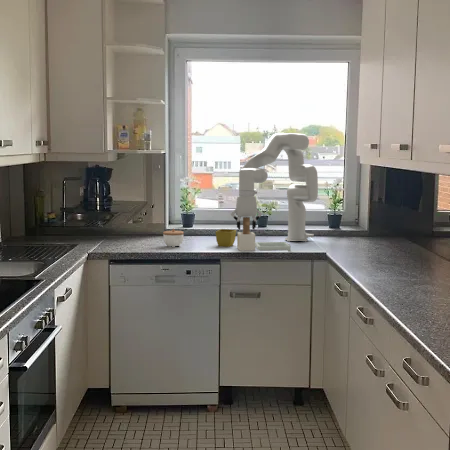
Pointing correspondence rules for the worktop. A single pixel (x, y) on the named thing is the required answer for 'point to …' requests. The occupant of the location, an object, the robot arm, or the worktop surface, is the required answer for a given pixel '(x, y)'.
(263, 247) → the tray
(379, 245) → the worktop surface
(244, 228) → the dowel
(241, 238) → the white square holder
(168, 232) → the lidded jar
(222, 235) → the flower pot
